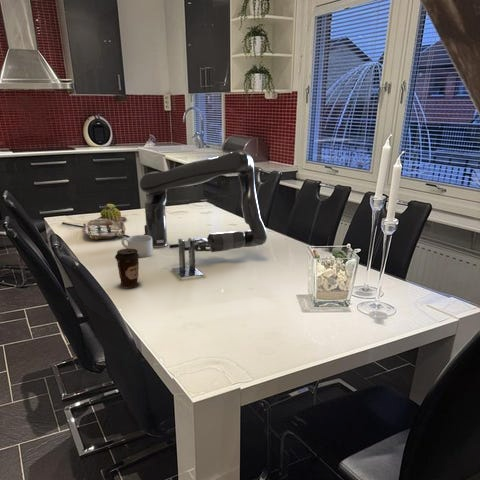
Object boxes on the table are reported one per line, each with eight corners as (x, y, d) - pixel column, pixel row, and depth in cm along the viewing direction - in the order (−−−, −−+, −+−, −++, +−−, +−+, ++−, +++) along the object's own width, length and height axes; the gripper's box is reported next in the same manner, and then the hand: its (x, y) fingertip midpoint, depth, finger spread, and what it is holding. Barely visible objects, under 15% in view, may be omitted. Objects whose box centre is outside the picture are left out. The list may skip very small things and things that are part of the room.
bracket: (172, 271, 186) (170, 236, 180) (193, 268, 189) (192, 234, 183) (181, 280, 176) (179, 244, 170) (203, 277, 179) (202, 242, 173)
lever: (169, 249, 186) (168, 243, 186) (188, 247, 189) (188, 241, 189) (177, 248, 175) (176, 241, 175) (197, 246, 178) (197, 239, 178)
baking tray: (131, 240, 228) (130, 229, 226) (84, 244, 221) (83, 232, 219) (121, 227, 254) (120, 217, 252) (80, 230, 246) (78, 219, 244)
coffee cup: (146, 283, 172) (143, 249, 167) (134, 290, 165) (131, 255, 160) (125, 280, 175) (122, 246, 169) (113, 287, 168) (109, 252, 162)
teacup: (158, 254, 207) (157, 236, 204) (143, 260, 198) (142, 242, 195) (132, 250, 212) (131, 233, 209) (117, 256, 203) (115, 238, 200)
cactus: (122, 224, 260) (121, 206, 256) (94, 224, 260) (92, 206, 256) (129, 217, 275) (128, 201, 271) (102, 217, 275) (101, 200, 271)
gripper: (214, 229, 197) (175, 233, 191) (227, 236, 186) (186, 241, 179) (214, 246, 200) (176, 251, 194) (227, 255, 189) (187, 260, 182)
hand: (181, 246), depth 186 cm, fingers closed on lever, 3 cm apart
